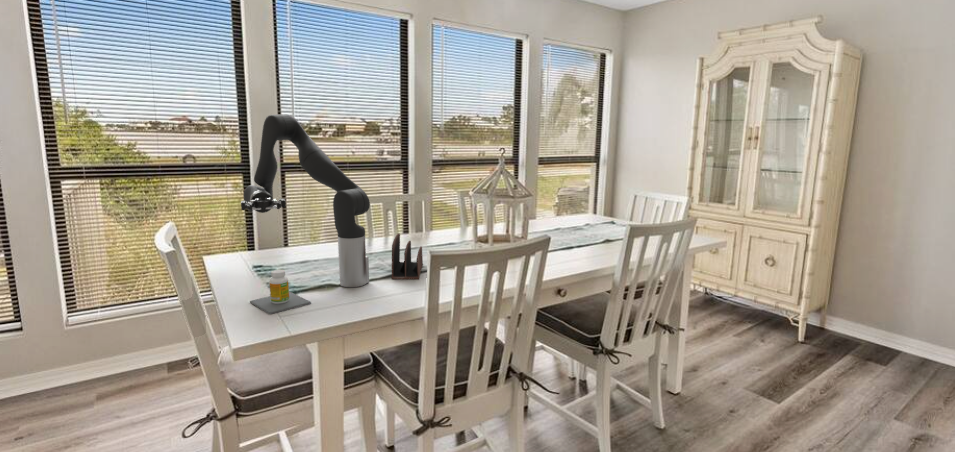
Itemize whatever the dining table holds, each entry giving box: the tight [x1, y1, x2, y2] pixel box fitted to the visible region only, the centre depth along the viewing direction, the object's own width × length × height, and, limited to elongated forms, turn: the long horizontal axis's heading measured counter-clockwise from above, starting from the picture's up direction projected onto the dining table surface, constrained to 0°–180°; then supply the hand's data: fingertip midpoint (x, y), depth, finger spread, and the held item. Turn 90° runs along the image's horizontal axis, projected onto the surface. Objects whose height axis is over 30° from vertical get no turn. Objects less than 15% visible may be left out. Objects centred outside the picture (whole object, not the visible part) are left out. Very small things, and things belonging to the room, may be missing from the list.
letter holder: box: [391, 233, 424, 280], centre depth 191 cm, size 10×20×14 cm, turn 2°
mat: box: [249, 290, 312, 315], centre depth 157 cm, size 13×14×1 cm
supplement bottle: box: [269, 269, 290, 304], centre depth 156 cm, size 5×5×10 cm
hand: (264, 207), depth 169 cm, fingers open, 8 cm apart
